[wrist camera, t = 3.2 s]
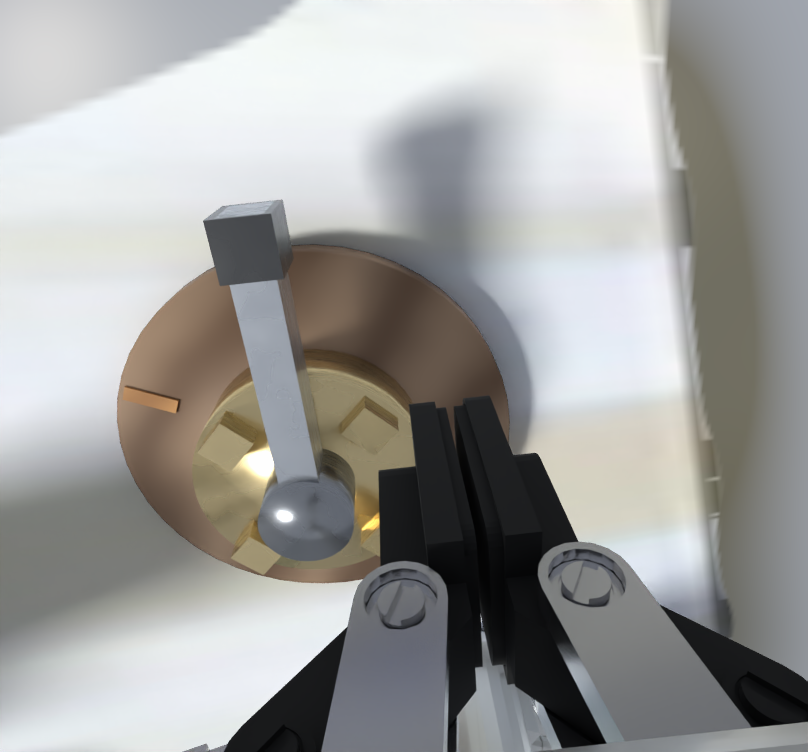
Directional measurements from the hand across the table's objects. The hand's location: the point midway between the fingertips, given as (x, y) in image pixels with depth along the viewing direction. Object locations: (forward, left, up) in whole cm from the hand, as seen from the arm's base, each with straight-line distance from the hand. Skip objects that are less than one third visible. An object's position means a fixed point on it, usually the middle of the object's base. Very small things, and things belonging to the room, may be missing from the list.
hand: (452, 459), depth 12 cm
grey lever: (+2, +9, -17) cm, 19 cm away
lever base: (0, +12, -19) cm, 22 cm away
